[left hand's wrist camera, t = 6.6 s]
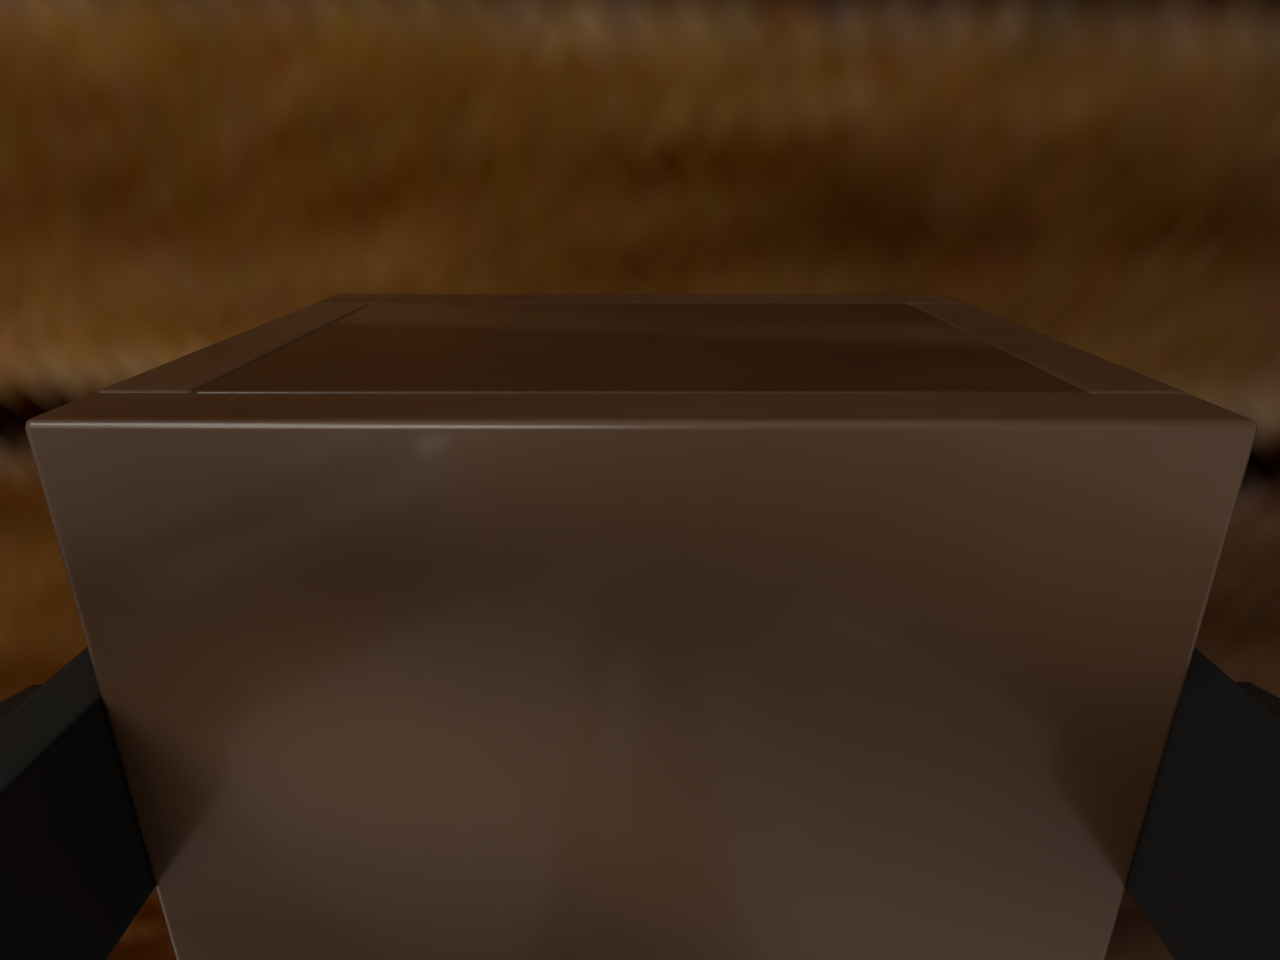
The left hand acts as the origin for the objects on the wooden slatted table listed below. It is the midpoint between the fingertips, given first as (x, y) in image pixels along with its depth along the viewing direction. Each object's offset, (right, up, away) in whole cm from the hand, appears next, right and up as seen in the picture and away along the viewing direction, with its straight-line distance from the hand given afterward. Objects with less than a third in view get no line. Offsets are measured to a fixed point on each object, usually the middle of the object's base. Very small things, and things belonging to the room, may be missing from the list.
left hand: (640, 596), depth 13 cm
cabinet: (0, -4, +5) cm, 7 cm away
